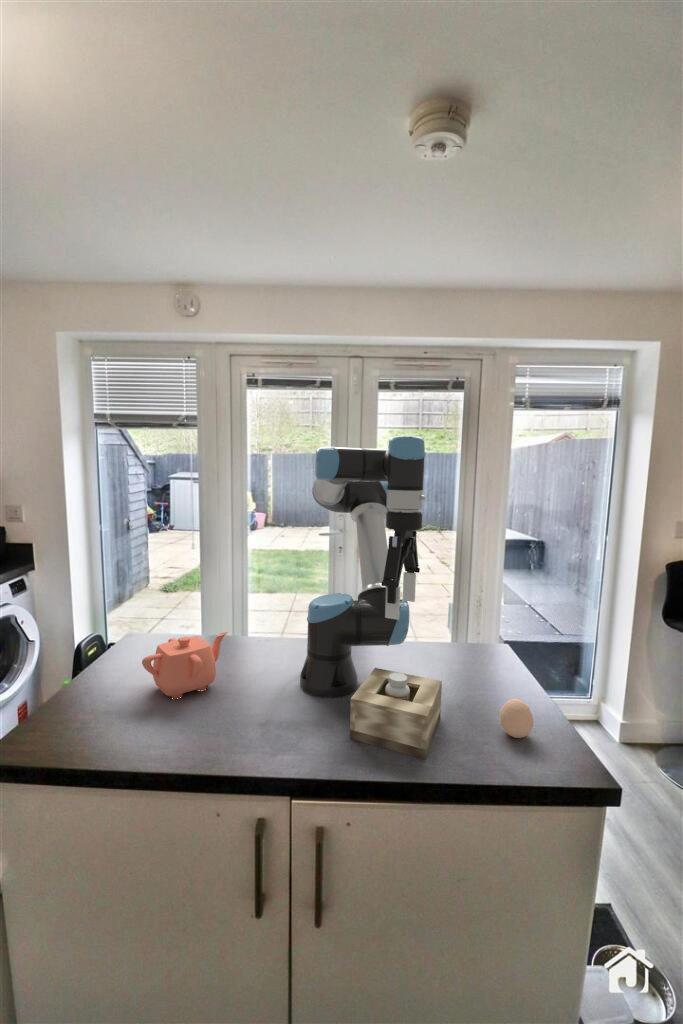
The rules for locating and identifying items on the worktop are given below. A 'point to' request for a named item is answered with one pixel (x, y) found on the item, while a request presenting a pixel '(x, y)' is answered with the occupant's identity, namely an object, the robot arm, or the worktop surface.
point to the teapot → (184, 664)
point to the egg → (516, 718)
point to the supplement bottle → (398, 687)
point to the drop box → (396, 714)
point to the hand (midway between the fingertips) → (401, 609)
